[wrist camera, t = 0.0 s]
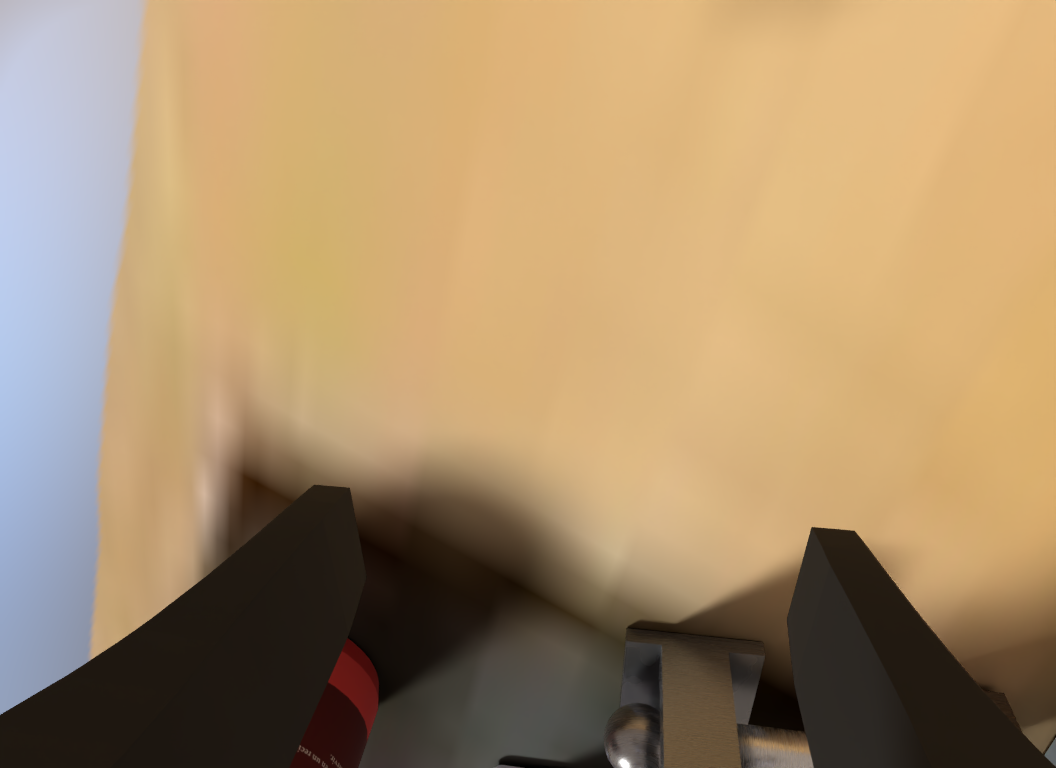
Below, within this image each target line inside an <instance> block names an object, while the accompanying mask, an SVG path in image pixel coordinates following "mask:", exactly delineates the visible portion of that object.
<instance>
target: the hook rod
mask: <svg viewBox="0 0 1056 768" xmlns="http://www.w3.org/2000/svg"><path fill="white" fill-rule="evenodd" d="M984 692H985V693H986V694H987V695H988V696H989V697H990V699H991V700H992V701H993V702H994V703H995V704H996V705H997V706H998V707H999V708H1000V710H1001V711H1002V712H1003V713H1004V714H1005V715H1006V716H1007V717H1008V718H1009V719H1010V720H1011V722H1012V723H1013V724H1014V725H1015V726H1016V727H1017V728H1018V729H1019V730H1020V731H1021V729H1020V727H1019V724H1018V722H1017V720H1016V718H1015V716H1014V714H1013V711H1012V709H1011V707H1010V705H1009V703H1008V701H1007V699H1006V696H1005V694H1004V693H998V692H989V691H984ZM736 724H737V733H738V742H739V751H740V760H741V768H814V766H813V762H812V758H811V754H810V750H809V746H808V741H807V737H806V733H805V731H797V730H789V729H781V728H772V727H764V726H755V725H747V724H739V723H736ZM1021 732H1022V731H1021ZM604 747H605V751H606V755H607V757H608V759H609V761H610V763H611V764H612V766H613V767H614V768H661V759H660V711H659V710H657V709H656V708H654V707H652V706H650V705H647V704H644V703H630V704H627V705H624V706H622V707H621V708H619V709H618V710H616V711H615V712H614V713H613V714H612V716H611V717H610V719H609V720H608V723H607V725H606V728H605V732H604Z"/></svg>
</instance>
